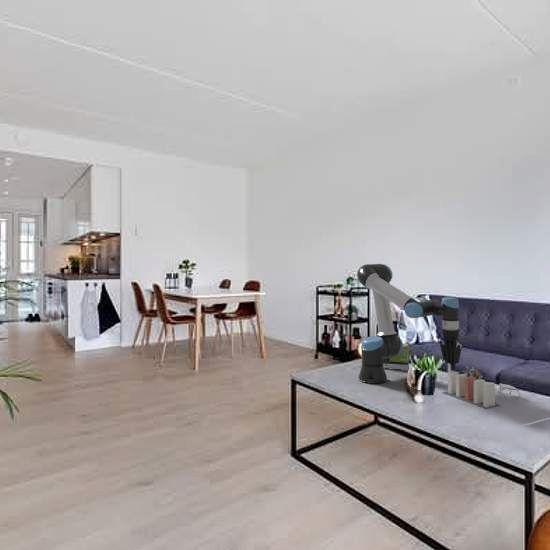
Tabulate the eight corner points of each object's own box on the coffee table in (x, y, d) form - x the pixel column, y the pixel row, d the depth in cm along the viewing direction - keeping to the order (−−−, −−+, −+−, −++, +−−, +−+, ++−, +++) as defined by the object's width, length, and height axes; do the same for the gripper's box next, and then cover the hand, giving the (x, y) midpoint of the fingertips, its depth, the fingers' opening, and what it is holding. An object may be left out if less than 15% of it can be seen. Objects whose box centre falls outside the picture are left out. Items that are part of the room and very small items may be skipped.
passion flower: (476, 397, 207) (473, 382, 201) (456, 388, 216) (453, 373, 210) (487, 382, 212) (484, 366, 206) (467, 374, 220) (464, 359, 214)
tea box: (409, 367, 248) (409, 343, 247) (407, 371, 239) (407, 346, 238) (384, 365, 254) (384, 341, 253) (381, 369, 245) (381, 344, 244)
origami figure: (491, 395, 194) (491, 385, 194) (500, 392, 198) (500, 382, 198) (517, 402, 184) (517, 392, 184) (526, 398, 188) (526, 388, 188)
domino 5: (483, 405, 179) (483, 383, 179) (491, 404, 181) (491, 382, 181) (486, 407, 177) (486, 384, 177) (494, 405, 179) (494, 383, 179)
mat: (441, 393, 198) (441, 392, 198) (456, 390, 202) (456, 389, 202) (486, 410, 175) (486, 409, 175) (501, 406, 179) (501, 405, 179)
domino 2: (456, 395, 193) (455, 375, 192) (463, 394, 195) (463, 373, 194) (459, 396, 191) (458, 376, 191) (466, 395, 193) (466, 374, 193)
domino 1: (447, 392, 197) (448, 372, 197) (455, 391, 199) (456, 371, 199) (450, 393, 196) (451, 373, 195) (458, 392, 198) (459, 372, 197)
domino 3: (475, 398, 189) (475, 377, 188) (467, 400, 187) (467, 378, 186) (472, 397, 190) (472, 376, 190) (464, 399, 188) (464, 377, 188)
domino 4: (473, 402, 184) (473, 380, 183) (481, 400, 186) (481, 379, 185) (477, 403, 182) (477, 381, 182) (484, 401, 184) (484, 380, 184)
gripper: (434, 327, 202) (435, 374, 203) (455, 331, 190) (456, 380, 191) (445, 326, 205) (446, 372, 206) (467, 330, 193) (467, 378, 194)
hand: (451, 376), depth 198 cm, fingers closed
